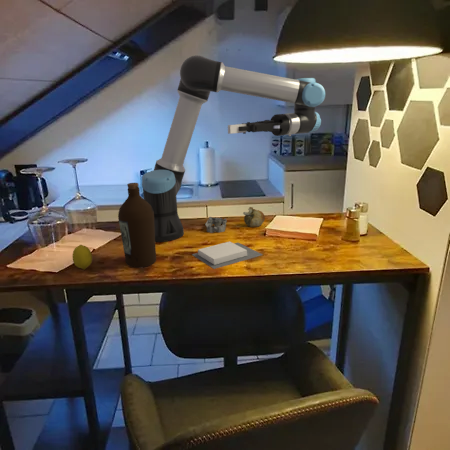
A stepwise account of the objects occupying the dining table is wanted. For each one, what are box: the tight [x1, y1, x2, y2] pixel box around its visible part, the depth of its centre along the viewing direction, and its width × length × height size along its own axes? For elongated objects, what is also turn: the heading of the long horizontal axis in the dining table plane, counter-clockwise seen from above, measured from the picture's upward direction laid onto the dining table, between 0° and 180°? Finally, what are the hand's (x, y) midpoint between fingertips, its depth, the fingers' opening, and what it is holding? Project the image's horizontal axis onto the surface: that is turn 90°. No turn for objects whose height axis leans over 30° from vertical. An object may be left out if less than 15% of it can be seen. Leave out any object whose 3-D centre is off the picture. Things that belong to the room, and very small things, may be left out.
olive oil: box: [117, 182, 157, 268], centre depth 124 cm, size 11×11×25 cm
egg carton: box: [205, 216, 228, 234], centre depth 156 cm, size 11×8×4 cm
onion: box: [242, 206, 266, 228], centre depth 156 cm, size 8×8×8 cm
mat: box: [191, 242, 263, 270], centre depth 129 cm, size 18×14×1 cm
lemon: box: [72, 244, 93, 270], centre depth 122 cm, size 6×6×8 cm
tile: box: [197, 241, 247, 265], centre depth 128 cm, size 2×10×12 cm
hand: (229, 129), depth 135 cm, fingers closed
